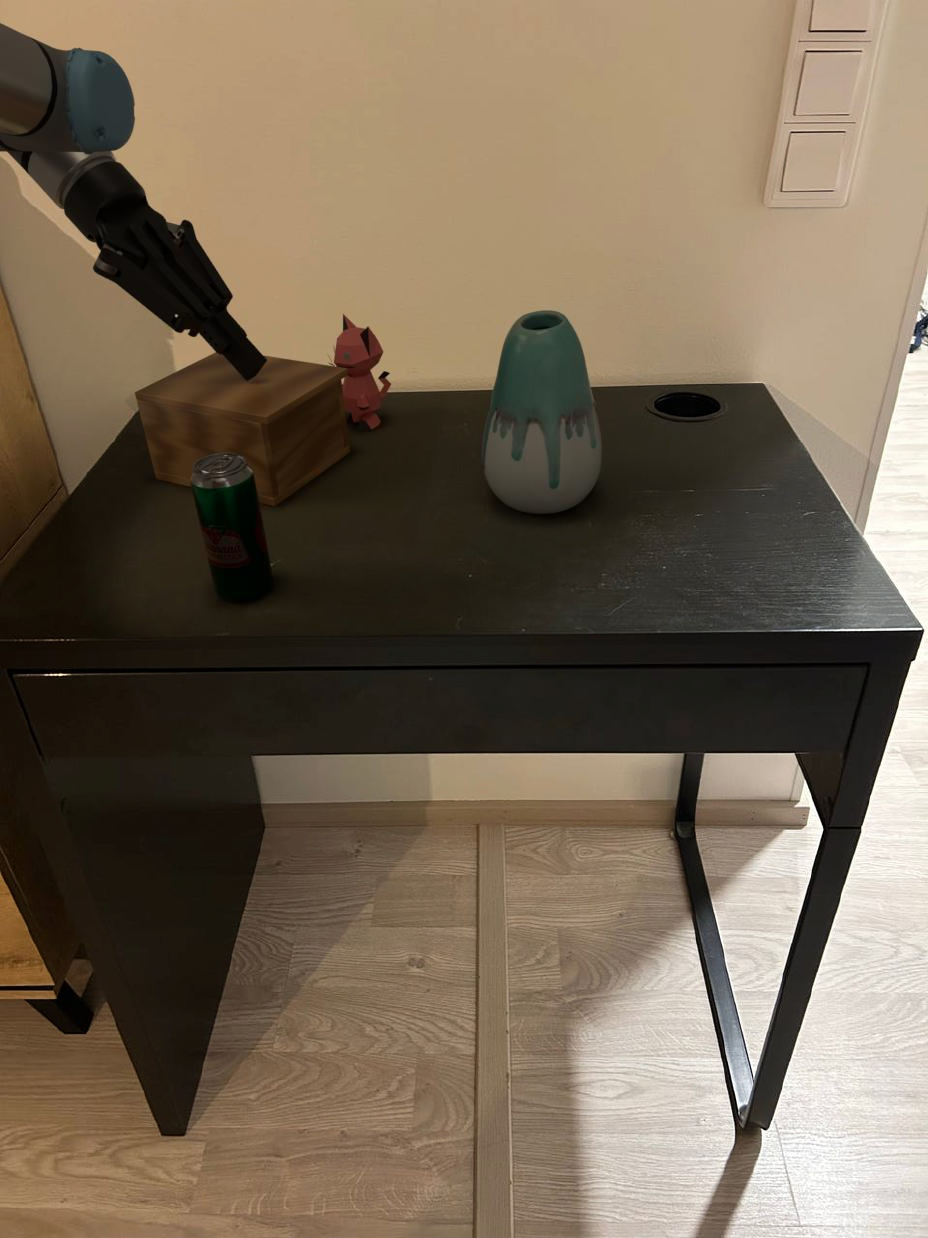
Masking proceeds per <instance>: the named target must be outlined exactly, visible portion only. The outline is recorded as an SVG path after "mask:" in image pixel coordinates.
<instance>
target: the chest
mask: <svg viewBox="0 0 928 1238" xmlns="http://www.w3.org/2000/svg"><path fill="white" fill-rule="evenodd" d="M342 384H343V381H342V379H341V380H340V381H338V382H336V383H335V384H333V385H332V386H330V387H328V388H327V389H325V390H323V391H322V392H320V393H319V394H317V395H315V396H314V397H312V398H310V399H309V400H307V401H306V402H304V403H302V404H301V405H299V406H297V407H296V408H294V409H293V410H291V411H289V412H288V413H286V414H284V415H283V416H281V417H280V418H278V419H276V420H275V421H273V422H271V423H270V424H263V423H257V422H252V421H247V420H242V419H236V418H231V417H226V416H221V415H215V414H210V413H205V412H200V411H194V410H189V409H184V408H179V407H173V406H168V405H163V404H157V403H152V402H147V401H142V400H137V399H136V404H137V407H138V411H139V416H140V420H141V423H142V427H143V431H144V435H145V439H146V443H147V447H148V452H149V455H150V459H151V463H152V467H153V471H154V476H155V479H156V480H158V481H162V482H167V483H170V484H176V485H180V486H185V487H188V488H191V483H190V478H191V476H192V473H193V471H192V466H193V464H194V463H195V462H196V461H197V460H199V459H200V458H203V457H205V456H208V455H211V454H216V453H226V452H227V453H237V454H240V455H242V456H244V457H245V458H246V460H247V464H248V465H249V466H250V467H251V468H252V469H253V472H254V477H255V483H256V488H257V493H258V499H259V504H263V505H268V506H273V507H276V506H278V505H279V504H280V503H282V502H283V501H285V500H286V499H288V498H289V497H290V496H291V495H293V494H294V493H296V492H297V491H299V490H300V489H301V488H302V487H304V486H305V485H307V484H308V483H309V482H311V481H312V480H314V479H315V478H316V477H318V476H320V475H321V474H322V473H324V472H325V471H326V470H327V469H329V468H330V467H332V466H333V465H334V464H336V463H338V461H340V460H341V459H343V458H345V457H346V456H347V455H348V454H350V453H351V447H350V441H349V439H350V438H349V432H348V431H349V430H348V422H346V416H347V415H346V414H347V413H346V410H345V406H344V397H343V389H342Z"/></svg>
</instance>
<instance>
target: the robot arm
mask: <svg viewBox="0 0 928 1238" xmlns="http://www.w3.org/2000/svg"><path fill="white" fill-rule="evenodd" d="M135 106H136V103H135V97H134V92H133V89H132V85H131V83H130V80H129V78H128V76H127V74H126V72H125V70H124V69H123V67H121V65H120V64H119V63H118V62H117V60H116V59H115V58H113V57H112V56H111V55H109V54H108V53H106V52H104V51H101V50H94V49H93V50H91V49H83V48H82V47H74V48H72V49H68V50H67V49H60V48H56V47H53V46H50V45H49V44H46V43H44V42H42V41H40V40H38V39H35V38H33V37H31V36H29V35H27V34H24V33H22V32H20V31H18V30H16V29H14V28H11V27H10V26H7V25H5V24H3V23H2V22H0V152H1V153H2V152H7V153H8V154H9V155H10V156H11V158H13V160H14V161H15V162H16V163H17V164H18V165H19V166H20V167H21V169H23V170H24V171H25V172H26V173H27V175H28V176H29V177H30V178H31V179H32V180H33V181H34V182H35V183H36V184H37V185H38V187H40V189H41V190H42V191H43V192H44V194H46V196H48V198H49V199H50V200H51V201H52V202H53V203H54V204H55V206H56V207H58V208H59V209H61V210H63V213H64V215H65V217H66V218H67V219H68V220H69V222H71V223H72V224H73V226H74V227H76V229H77V230H78V231H79V232H80V234H81V235H83V237H84V238H85V239H86V240H88V241H89V242H91V243H94V244H96V246H97V248H98V250H99V254H98V255H97V257H96V260H95V262H94V264H93V266H92V270H93V272H94V273H95V274H97V275H99V276H100V277H103V278H104V279H106V280H109V281H110V282H112V283H115V284H116V285H117V286H118V287H120V288H121V289H122V290H123V291H125V292H126V293H127V294H128V295H129V296H131V297H132V298H133V299H135V300H136V301H137V302H138V303H139V304H141V305H142V306H143V307H144V308H146V309H147V310H149V312H151V313H152V314H153V315H154V316H156V317H157V318H158V319H159V320H161V321H162V322H163V323H164V324H165V325H167V326H168V327H169V328H170V329H171V330H173V331H174V332H175V333H177V334H182V333H184V332H185V331H188V332H187V335H188V336H189V337H190V338H191V337H192V338H196V337H197V336H198V335H199V336H200V337H202V339H203V340H204V341H205V342H206V343H207V344H208V345H209V346H210V348H212V350H213V351H215V352H217V353H218V354H220V355H221V354H222V355H223V356H224V357H225V358H226V359H227V360H228V361H229V362H230V363H231V364H232V366H233V367H234V368H235V369H236V370H237V371H238V372H239V373H240V374H241V376H242V377H243V378H244V379H245V380H246V381H248V380H250V379H252V378H253V377H255V376H256V375H257V374H258V372H259V371H260V370H261V368H262V367H263V366H264V364H265V363H266V362H267V359H266V358H265V357H264V356H265V355H264V356H263V354H262V353H261V351H260V350H259V349H258V348H257V347H256V346H255V345H254V343H252V341H251V340H250V339H249V338H248V335H247V332H246V330H245V328H243V327H242V326H241V325H240V324H239V323H238V322H237V320H236V319H235V318H234V317H233V316H232V314H230V312H229V311H228V306H229V304H230V303H231V301H232V300H233V298H234V295H233V293H232V292H231V290H230V288H229V287H228V285H227V283H226V282H225V281H224V279H223V278H222V275H221V274H220V273H219V271H218V270H217V268H216V266H215V265H214V262H212V260H211V258H210V257H209V255H208V254H207V253H206V251H205V250H204V248H203V246H202V244H201V243H200V241H199V240H198V239H197V238H198V237H197V235H196V231H195V228H194V225H193V223H192V222H191V221H190V220H188V219H182V220H181V222H180V224H176V223H173V222H170V221H167V219H166V217H165V216H164V215H163V214H161V213H160V212H158V211H156V209H154V208H153V207H151V206H150V204H149V201H148V199H147V195H146V191H145V188H144V187H143V186H142V184H141V183H139V181H138V180H137V179H136V178H135V177H134V176H133V175H132V174H131V172H130V171H129V170H128V169H127V168H126V167H125V166H124V165H123V164H122V163H121V162H118V161H117V157H116V156H115V154H114V153H113V152H115V151H118V150H120V149H121V148H123V147H124V146H125V145H127V143H128V142H129V141H130V139H131V136H132V134H133V133H134V128H135V123H136V116H135ZM215 352H214V353H215Z"/></svg>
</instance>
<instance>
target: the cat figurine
mask: <svg viewBox="0 0 928 1238" xmlns="http://www.w3.org/2000/svg"><path fill="white" fill-rule="evenodd" d="M333 353H334V357H333V361H332V359H331V357H330V355H329V354H328V352H327V356H328V358H329V360H330V362H331V363H330V362H328V365H330V366H335V367H342V368H347V371H348V376H346V377H344V378H343V381H342V389H343V397H344V406H345V412H346V413H348V414H347V415H346V422H347V423H352V424H353V423H354V424H355V423H358V426H357V431H361V432H365V431H366V432H367V431H372V430H373V429H375V428H376V427H378V426H379V425H380V423H381V419H380V418H379V416H378V415H377V412H374V411H375V410H376V411H377V410H379V409H381V407H382V406H381V399H383V398H385V397H386V395H387V393H388V391H389V390H390V388H391V386H392V383H391V382H390V380H388V378H387V377H388V376H389V375H390V374H391V372H389V371H385V370H383V371H382V372H381V374H379V376H377V379H378V380H379V382H381V384H383V386H382V387H381V390H379V387H378V384H377V382H376V379H375V377H374V376H373V373H372V371H371V370H372V369H374V368H375V367H376V366H377V365H378V364H379V363H380V361H381V358H382V357H383V354H384V349H383V348H382V346H381V343H380V341H379V339H378V338H377V336H376V334H374V332H373V331H372V329H371V328H370V327H369V326H366V327H365V328H363V327H358V326H356V325H355V324H354V323H353V322H352V321H351V320H350V319H349V318H348V316H346V315H345V314H344V313H342V332H341V333H340V334H339V335H338V336H337V338H336V342H335V345H333Z"/></svg>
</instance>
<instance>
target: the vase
mask: <svg viewBox="0 0 928 1238" xmlns="http://www.w3.org/2000/svg"><path fill="white" fill-rule="evenodd" d="M597 409H598V408H597V404H596V400H595V398H594V394H593V391H592V387H591V383H590V377H589V372H588V367H587V363H586V358H585V353H584V349H583V346H582V342H581V340H580V338H579V335H578V333H577V331H576V329H575V328H574V326H573V324H572V322H570V320H569V318H567V316H566V315H565V314H564V313H561V312H560V311H557V310H550V309H547V310H546V309H545V310H543V309H542V310H535V311H532V312H528V313H526V314H523V315H521V316H520V317H519V318H517V319H516V320H515V321H514V322H513V324H512V325H511V326H510V329H509V330H508V332H507V334H506V336H505V338H504V341H503V344H502V348H501V352H500V357H499V361H498V365H497V371H496V377H495V381H494V385H493V388H492V391H491V397H490V405H489V408H488V411H487V416H486V419H485V425H484V429H483V435H482V442H481V464H482V470H483V474H484V475H483V476H484V478H485V481H486V483H487V486H488V487H489V488H490V490H491V491H492V493H493V494H494V496H495V497H496V498H497V499H498V500H499V501H501V502H502V503H503V504H504V505H506V506H507V507H509V508H511V509H513V510H516V511H519V512H520V513H521V512H522V513H526V514H532V515H551V514H557V513H560V512H564V511H567V510H569V509H572V508H574V507H575V506H578V505H579V504H580V503H582V501H584V500H585V499H586V498H587V497H588V496H589V494H591V492H592V490H593V489H594V488H595V485H596V484H597V482H598V480H599V477H600V474H601V471H602V465H603V441H602V431H601V426H600V420H599V415H598V410H597Z"/></svg>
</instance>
